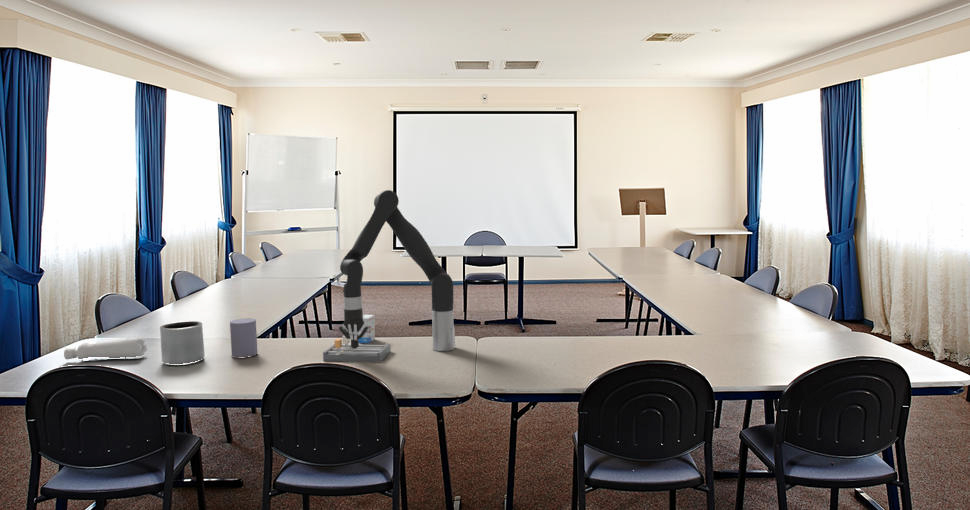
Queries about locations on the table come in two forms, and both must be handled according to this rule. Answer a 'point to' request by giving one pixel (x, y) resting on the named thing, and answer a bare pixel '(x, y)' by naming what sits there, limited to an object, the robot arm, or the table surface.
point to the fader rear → (345, 341)
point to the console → (357, 353)
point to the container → (243, 337)
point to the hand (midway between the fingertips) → (354, 348)
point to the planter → (182, 342)
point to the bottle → (109, 349)
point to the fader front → (338, 344)
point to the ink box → (370, 333)
